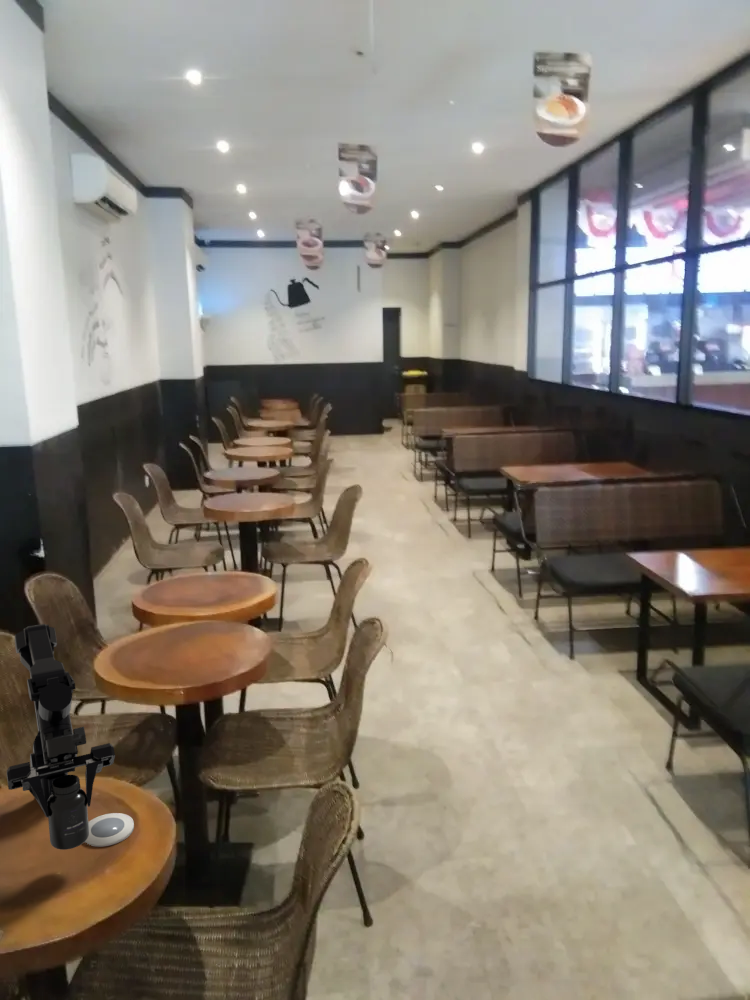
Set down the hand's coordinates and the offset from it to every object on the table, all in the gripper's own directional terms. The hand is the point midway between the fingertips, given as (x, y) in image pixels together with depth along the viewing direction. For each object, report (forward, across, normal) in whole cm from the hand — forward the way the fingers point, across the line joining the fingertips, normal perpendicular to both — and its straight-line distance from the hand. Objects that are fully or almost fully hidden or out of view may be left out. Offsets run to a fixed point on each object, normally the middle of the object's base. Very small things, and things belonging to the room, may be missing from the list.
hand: (68, 811), depth 143 cm
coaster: (+2, +8, +15) cm, 17 cm away
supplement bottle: (+4, 0, +6) cm, 7 cm away
